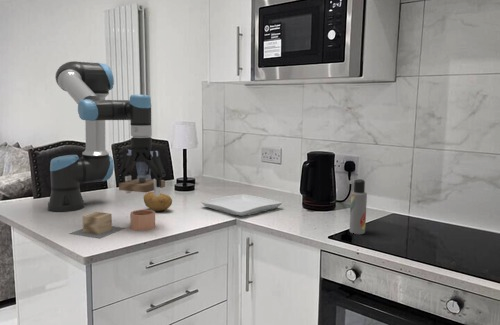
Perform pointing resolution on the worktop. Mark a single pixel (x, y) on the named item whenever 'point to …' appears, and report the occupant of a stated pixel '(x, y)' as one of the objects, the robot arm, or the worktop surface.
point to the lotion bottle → (358, 208)
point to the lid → (139, 185)
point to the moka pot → (143, 170)
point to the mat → (81, 233)
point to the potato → (157, 201)
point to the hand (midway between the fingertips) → (142, 194)
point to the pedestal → (97, 223)
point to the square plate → (241, 204)
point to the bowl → (142, 219)
